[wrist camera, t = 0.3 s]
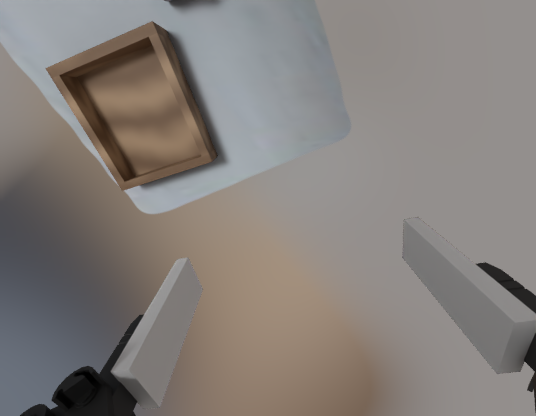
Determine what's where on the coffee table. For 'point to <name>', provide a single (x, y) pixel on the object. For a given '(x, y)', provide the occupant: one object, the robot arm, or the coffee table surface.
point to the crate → (136, 106)
